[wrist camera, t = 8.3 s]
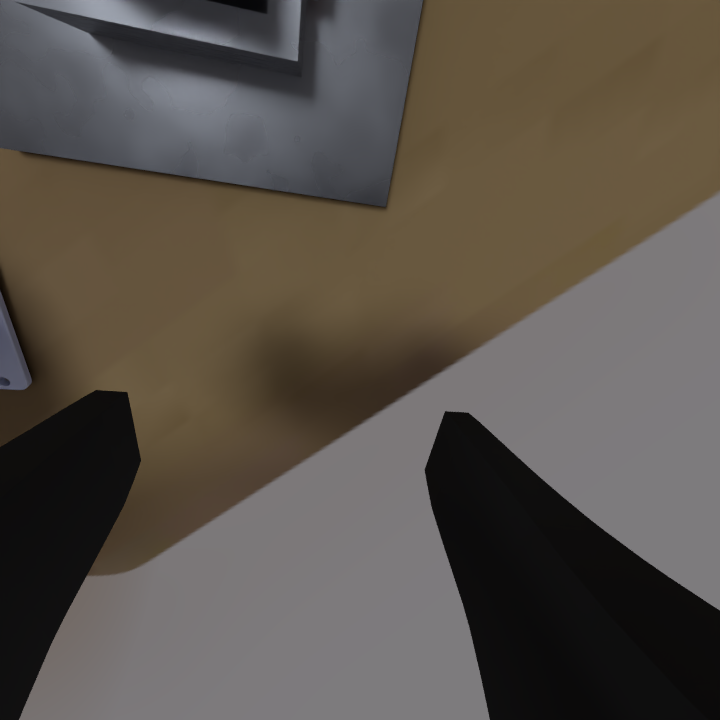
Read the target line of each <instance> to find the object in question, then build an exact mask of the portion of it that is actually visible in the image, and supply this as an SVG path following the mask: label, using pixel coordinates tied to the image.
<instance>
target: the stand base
mask: <svg viewBox="0 0 720 720" xmlns="http://www.w3.org/2000/svg"><path fill="white" fill-rule="evenodd" d="M422 3H423V0H0V148H4V149H11V150H17V151H24V152H30V153H37V154H43V155H50V156H57V157H63V158H70V159H76V160H83V161H89V162H96V163H102V164H109V165H115V166H122V167H128V168H135V169H141V170H148V171H154V172H161V173H167V174H174V175H180V176H187V177H193V178H200V179H207V180H213V181H220V182H226V183H233V184H239V185H246V186H252V187H259V188H265V189H272V190H278V191H285V192H291V193H298V194H304V195H311V196H317V197H324V198H330V199H337V200H344V201H350V202H357V203H363V204H370V205H376V206H383V207H386V203H387V198H388V192H389V186H390V181H391V175H392V170H393V164H394V159H395V153H396V148H397V142H398V136H399V131H400V125H401V120H402V114H403V109H404V103H405V98H406V92H407V87H408V81H409V75H410V70H411V64H412V59H413V53H414V48H415V42H416V37H417V31H418V25H419V20H420V14H421V9H422Z"/></svg>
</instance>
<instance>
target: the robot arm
mask: <svg viewBox="0 0 720 720" xmlns="http://www.w3.org/2000/svg"><path fill="white" fill-rule="evenodd" d="M5 378H6V379H8V380H9V381H7V380H6V379H5ZM31 383H32V379H31V376H30V373H29V370H28V368H27V365H26V362H25V359H24V356H23V353H22V351H21V348H20V345H19V342H18V339H17V336H16V334H15V331H14V328H13V325H12V322H11V319H10V317H9V314H8V311H7V308H6V305H5V302H4V300H3V297H2V294H1V291H0V389H10V390H24V389H26V388H27V387H28V386H29V385H30V384H31ZM140 462H141V458H140V453H139V448H138V443H137V438H136V433H135V428H134V423H133V418H132V413H131V408H130V403H129V398H128V393H127V392H117V391H101V390H96V391H94V392H92V393H90V394H88V395H87V396H85V397H83V398H81V399H80V400H78V401H76V402H74V403H73V404H71V405H69V406H68V407H66V408H64V409H63V410H61V411H59V412H58V413H56V414H55V415H53V416H51V417H50V418H48V419H46V420H45V421H43V422H41V423H40V424H38V425H37V426H35V427H33V428H32V429H30V430H28V431H27V432H25V433H23V434H22V435H20V436H18V437H17V438H15V439H13V440H12V441H10V442H8V443H7V444H5V445H3V446H1V447H0V720H19V718H20V716H21V713H22V711H23V708H24V706H25V704H26V701H27V699H28V697H29V694H30V692H31V690H32V687H33V685H34V683H35V680H36V678H37V675H38V673H39V671H40V669H41V666H42V664H43V662H44V659H45V657H46V655H47V652H48V650H49V648H50V646H51V643H52V641H53V639H54V637H55V635H56V633H57V631H58V629H59V627H60V625H61V623H62V621H63V619H64V617H65V615H66V613H67V611H68V609H69V607H70V606H71V604H72V602H73V600H74V598H75V596H76V594H77V593H78V591H79V589H80V587H81V585H82V583H83V581H84V580H85V578H86V576H87V574H88V572H89V570H90V568H91V567H92V565H93V563H94V561H95V559H96V557H97V555H98V553H99V552H100V550H101V548H102V546H103V544H104V542H105V540H106V539H107V537H108V535H109V533H110V531H111V529H112V527H113V525H114V523H115V522H116V520H117V518H118V516H119V514H120V512H121V510H122V508H123V506H124V504H125V502H126V499H127V497H128V494H129V491H130V489H131V486H132V484H133V481H134V478H135V476H136V473H137V470H138V467H139V465H140ZM425 474H426V480H427V485H428V490H429V495H430V500H431V506H432V510H433V513H434V516H435V519H436V522H437V526H438V529H439V532H440V535H441V539H442V541H443V545H444V548H445V551H446V554H447V557H448V560H449V563H450V566H451V569H452V572H453V575H454V578H455V581H456V584H457V587H458V591H459V594H460V597H461V600H462V603H463V606H464V609H465V613H466V617H467V620H468V624H469V627H470V631H471V636H472V640H473V644H474V649H475V653H476V657H477V662H478V666H479V670H480V675H481V679H482V683H483V688H484V693H485V698H486V703H487V708H488V712H489V717H490V720H720V610H718V609H716V608H715V607H713V606H712V605H710V604H709V603H707V602H706V601H704V600H703V599H701V598H700V597H698V596H697V595H695V594H693V593H692V592H691V591H689V590H688V589H686V588H685V587H683V586H681V585H680V584H678V583H677V582H675V581H674V580H672V579H671V578H669V577H668V576H666V575H665V574H664V573H662V572H661V571H659V570H658V569H656V568H655V567H653V566H652V565H650V564H649V563H648V562H646V561H645V560H643V559H642V558H641V557H639V556H638V555H636V554H635V553H634V552H633V551H631V550H630V549H628V548H627V547H626V546H624V545H623V544H622V543H620V542H619V541H618V540H616V539H615V538H614V537H612V536H611V535H609V534H608V533H607V532H605V531H604V530H603V529H602V528H600V527H599V526H597V525H596V524H595V523H594V522H593V521H591V520H590V519H589V518H587V517H586V516H585V515H584V514H582V513H581V512H580V511H579V510H578V509H577V508H575V507H574V506H573V505H572V504H571V503H569V502H568V501H567V500H566V499H564V498H563V497H562V496H561V495H560V494H558V493H557V492H556V491H555V490H554V489H552V487H550V486H549V485H548V484H547V483H546V482H545V481H543V480H542V479H541V478H540V477H539V476H538V475H537V474H536V473H534V472H533V471H532V470H531V469H530V468H529V467H528V466H527V465H526V464H524V463H523V462H522V461H521V460H520V459H519V458H518V457H517V456H516V455H515V454H514V453H512V452H511V451H510V450H509V449H508V448H507V447H506V446H505V445H504V444H503V443H502V442H500V441H499V440H498V439H497V438H496V437H495V436H494V435H493V434H492V433H491V432H490V431H489V430H488V429H486V428H485V427H484V426H483V425H482V424H481V423H480V422H479V421H477V420H476V419H475V418H474V417H473V416H472V415H470V414H469V413H464V412H447V411H445V413H444V416H443V419H442V422H441V424H440V427H439V430H438V433H437V436H436V439H435V442H434V445H433V448H432V450H431V453H430V456H429V459H428V462H427V465H426V468H425Z"/></svg>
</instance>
